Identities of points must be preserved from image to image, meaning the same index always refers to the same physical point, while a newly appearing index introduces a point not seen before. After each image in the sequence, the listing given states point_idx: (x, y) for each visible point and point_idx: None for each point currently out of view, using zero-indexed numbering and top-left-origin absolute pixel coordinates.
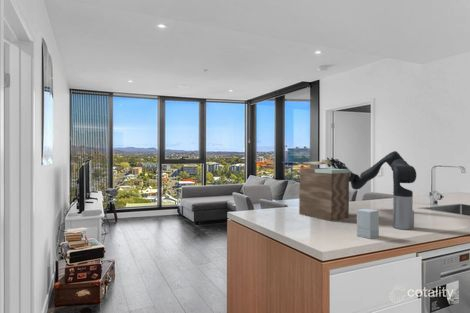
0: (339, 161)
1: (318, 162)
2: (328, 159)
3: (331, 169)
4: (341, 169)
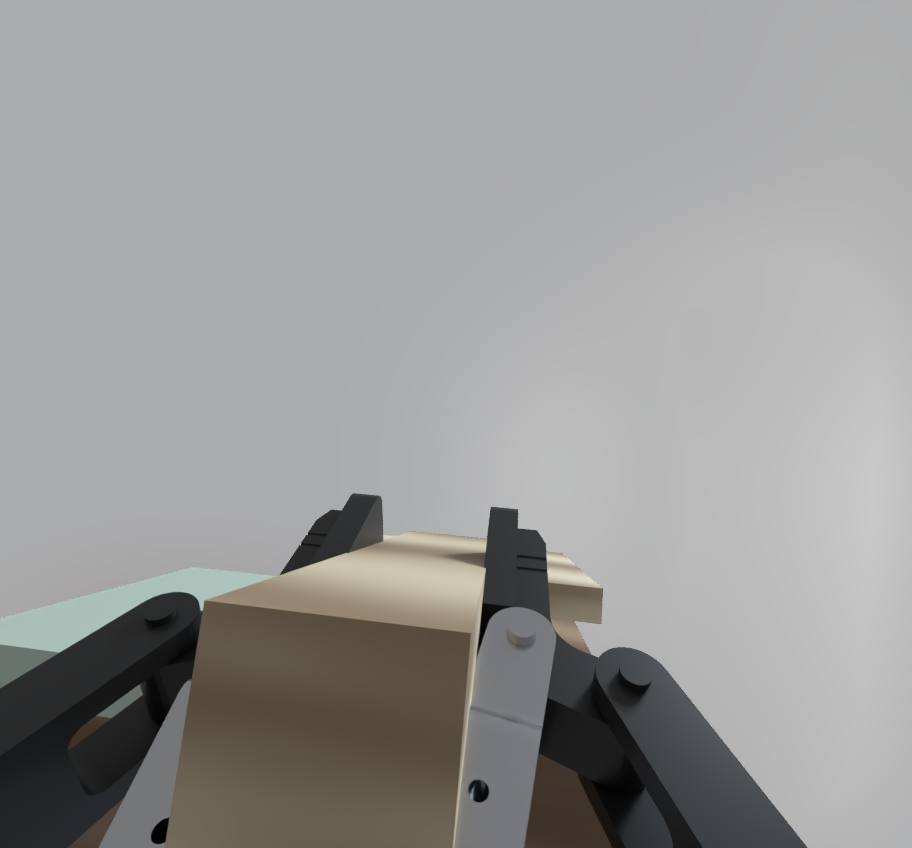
0: (119, 627)
1: (389, 538)
2: (442, 548)
3: (212, 594)
4: (81, 617)
